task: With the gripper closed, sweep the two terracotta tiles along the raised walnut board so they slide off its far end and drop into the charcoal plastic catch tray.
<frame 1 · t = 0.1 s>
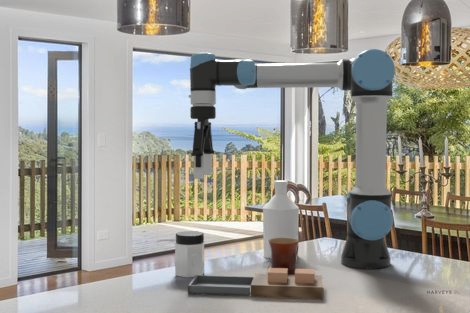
hand: (203, 176, 180), 28 cm above the kitchen island, fingers open, 13 cm apart
tile 1: (277, 279, 157), point 3 cm above the kitchen island, touching board
jar: (190, 274, 175), on the kitchen island
board: (287, 291, 156), on the kitchen island
catch tray: (221, 289, 159), on the kitchen island
mug: (286, 275, 174), on the kitchen island
tile 2: (304, 280, 156), point 3 cm above the kitchen island, touching board
bottle: (280, 256, 199), on the kitchen island
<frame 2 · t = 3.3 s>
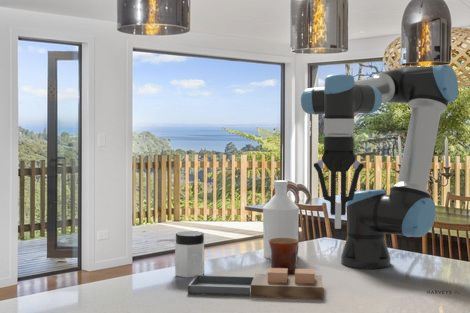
hand: (337, 227, 154), 17 cm above the kitchen island, fingers closed
nothing on the kitchen island moved.
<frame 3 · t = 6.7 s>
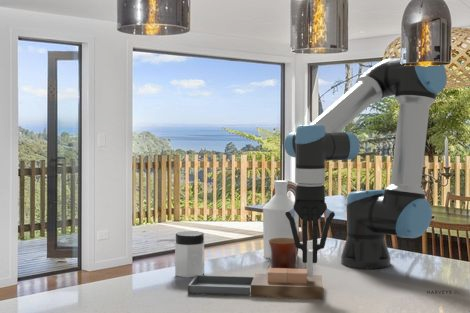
hand: (309, 275, 155), 4 cm above the kitchen island, fingers closed
tile 2: (297, 280, 156), point 3 cm above the kitchen island, touching board, gripper
everything else where it was.
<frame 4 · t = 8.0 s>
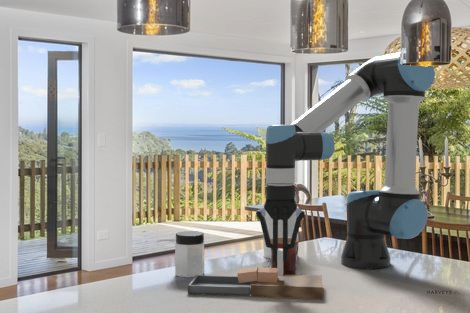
hand: (280, 274, 156), 5 cm above the kitchen island, fingers closed
tile 1: (249, 279, 158), point 3 cm above the kitchen island, tilted 9°, touching tile 2
tile 2: (268, 279, 157), point 3 cm above the kitchen island, touching gripper, tile 1
everything else where it was.
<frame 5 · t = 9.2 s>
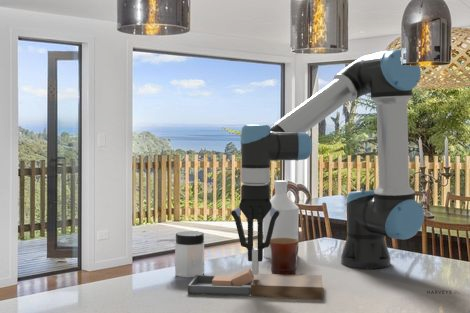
hand: (255, 273, 157), 5 cm above the kitchen island, fingers closed
tile 1: (223, 278, 158), point 3 cm above the kitchen island, tilted 180°, touching catch tray, tile 2
tile 2: (244, 282, 158), point 2 cm above the kitchen island, tilted 26°, touching board, tile 1
everything else where it was.
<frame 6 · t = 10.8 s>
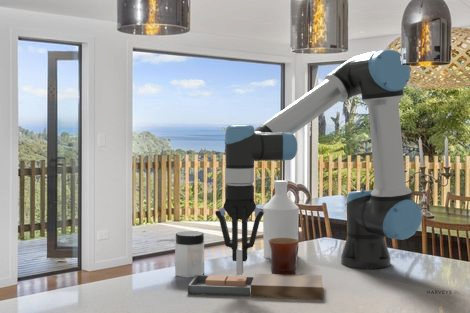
hand: (239, 273, 158), 4 cm above the kitchen island, fingers closed
tile 1: (216, 277, 159), point 3 cm above the kitchen island, tilted 180°, touching catch tray
tile 2: (236, 287, 158), resting on catch tray
everything else where it was.
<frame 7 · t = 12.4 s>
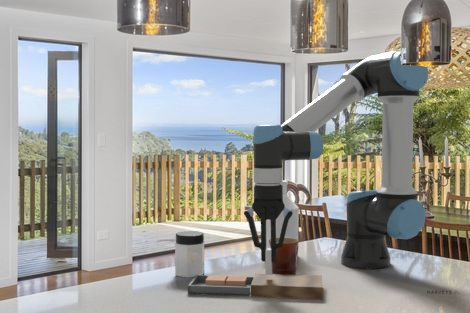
hand: (268, 273, 157), 5 cm above the kitchen island, fingers closed
nothing on the kitchen island moved.
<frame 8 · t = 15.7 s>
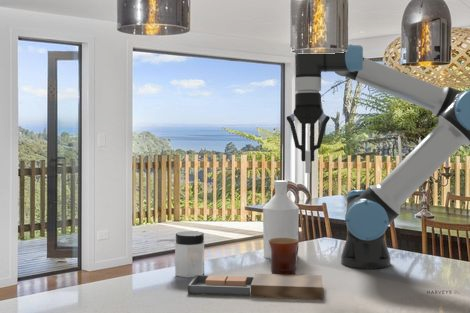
hand: (307, 172, 177), 29 cm above the kitchen island, fingers closed
nothing on the kitchen island moved.
at the end: tile 1 inside the target area on the catch tray (1.1 cm from its centre), point 3.0 cm above the catch tray's base; tile 2 inside the target area on the catch tray (4.3 cm from its centre), point 0.5 cm above the catch tray's base; the gripper is holding nothing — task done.
